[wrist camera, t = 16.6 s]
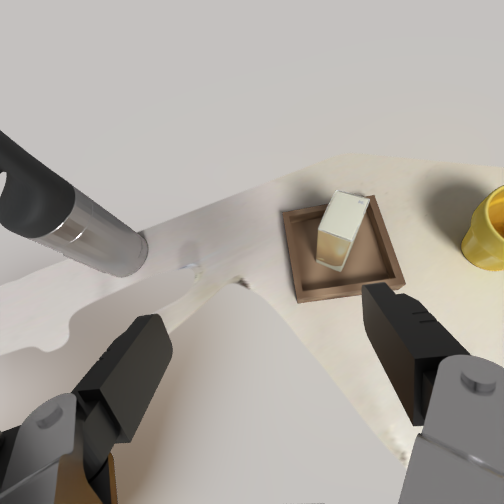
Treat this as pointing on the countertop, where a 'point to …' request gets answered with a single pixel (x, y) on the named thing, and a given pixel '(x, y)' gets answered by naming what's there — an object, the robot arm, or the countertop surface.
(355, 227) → the skincare box
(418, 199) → the countertop surface
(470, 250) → the plant pot
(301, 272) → the walnut tray
